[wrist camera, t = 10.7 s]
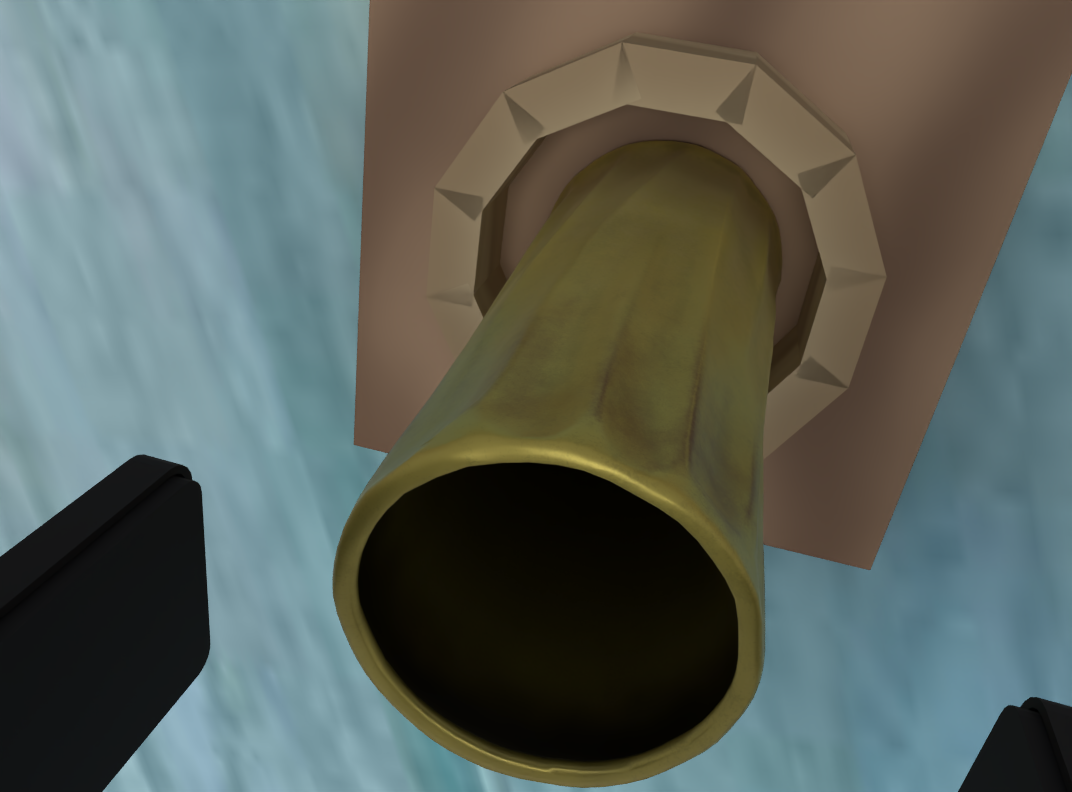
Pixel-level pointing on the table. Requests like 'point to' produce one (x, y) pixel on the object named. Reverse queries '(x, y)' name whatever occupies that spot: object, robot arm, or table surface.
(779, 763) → the table surface
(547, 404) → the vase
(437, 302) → the stand
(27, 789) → the robot arm
